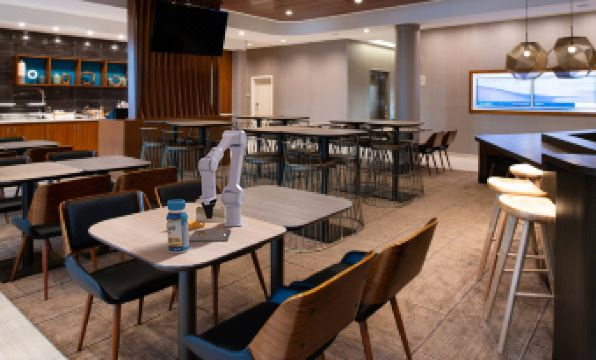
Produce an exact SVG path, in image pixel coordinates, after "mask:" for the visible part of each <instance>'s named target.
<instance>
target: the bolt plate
mask: <svg viewBox="0 0 596 360" xmlns="http://www.w3.org/2000/svg"><path fill="white" fill-rule="evenodd" d="M231 233H232V229H211V230H209V229H208V230H207V229H206V230H205V229H203V230H202V229H199V230H198V229H197V230H196V229H195V230H194V232H193V233H192V235H191V236H190V237H189V243H193V242H194V243H195V242H196V243H197V242H198V243H201V242H202V243H205V242H228V241H229V239H230V235H231Z"/></svg>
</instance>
